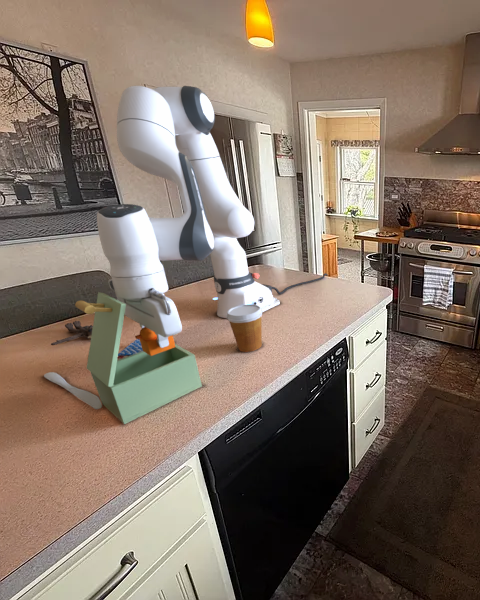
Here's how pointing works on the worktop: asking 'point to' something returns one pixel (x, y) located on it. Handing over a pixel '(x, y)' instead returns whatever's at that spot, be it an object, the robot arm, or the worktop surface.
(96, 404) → the butter knife
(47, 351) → the worktop surface
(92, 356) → the lid
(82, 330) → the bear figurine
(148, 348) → the rubber duck
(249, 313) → the disposable coffee cup
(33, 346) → the worktop surface
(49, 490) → the worktop surface
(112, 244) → the robot arm
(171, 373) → the chest
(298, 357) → the worktop surface
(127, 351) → the woven mat
